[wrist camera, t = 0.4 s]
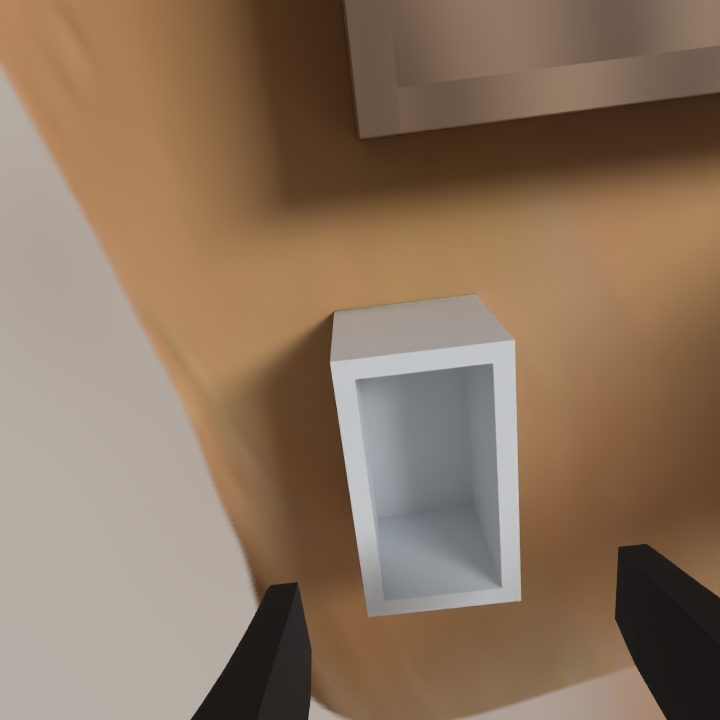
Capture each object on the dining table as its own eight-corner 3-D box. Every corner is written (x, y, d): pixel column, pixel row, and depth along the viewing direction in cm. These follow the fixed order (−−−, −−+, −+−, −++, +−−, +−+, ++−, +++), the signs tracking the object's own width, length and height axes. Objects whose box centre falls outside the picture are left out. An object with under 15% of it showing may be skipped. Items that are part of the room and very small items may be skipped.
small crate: (475, 294, 20) (514, 339, 15) (485, 508, 23) (521, 600, 18) (334, 311, 20) (330, 361, 15) (364, 522, 23) (368, 617, 18)
